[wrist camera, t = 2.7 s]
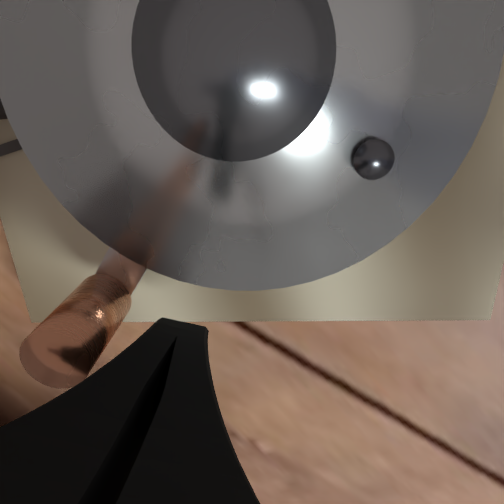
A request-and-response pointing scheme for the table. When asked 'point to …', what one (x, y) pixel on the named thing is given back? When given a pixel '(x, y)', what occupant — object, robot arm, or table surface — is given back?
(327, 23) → the grey turntable
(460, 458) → the table surface
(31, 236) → the post base
